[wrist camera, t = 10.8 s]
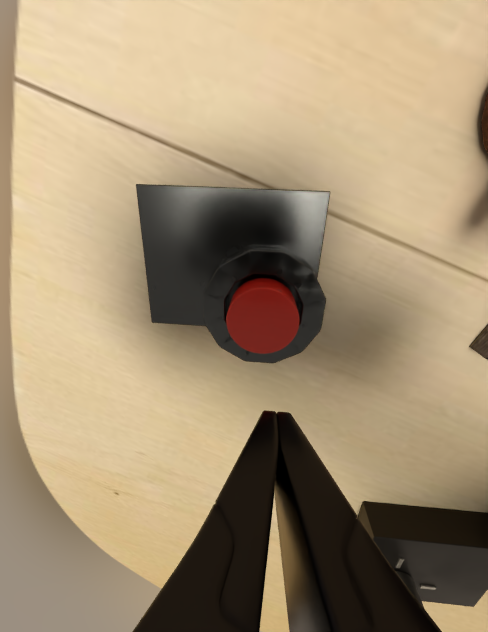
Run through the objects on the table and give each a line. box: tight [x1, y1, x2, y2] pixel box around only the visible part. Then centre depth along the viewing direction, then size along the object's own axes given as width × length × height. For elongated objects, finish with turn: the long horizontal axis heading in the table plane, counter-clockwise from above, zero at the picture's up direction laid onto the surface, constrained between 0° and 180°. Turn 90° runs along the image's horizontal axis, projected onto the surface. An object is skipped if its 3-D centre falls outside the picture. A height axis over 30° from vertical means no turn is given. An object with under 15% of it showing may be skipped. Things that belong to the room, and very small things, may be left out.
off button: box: [226, 278, 299, 354], centre depth 14 cm, size 4×4×2 cm
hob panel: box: [358, 502, 488, 607], centre depth 27 cm, size 13×11×3 cm
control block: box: [136, 184, 330, 363], centre depth 16 cm, size 10×9×4 cm
